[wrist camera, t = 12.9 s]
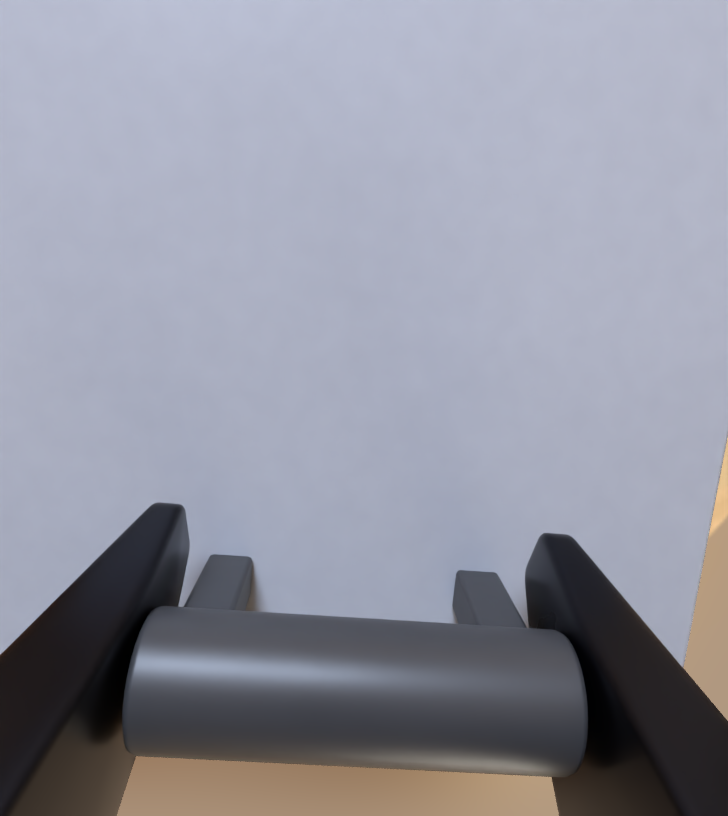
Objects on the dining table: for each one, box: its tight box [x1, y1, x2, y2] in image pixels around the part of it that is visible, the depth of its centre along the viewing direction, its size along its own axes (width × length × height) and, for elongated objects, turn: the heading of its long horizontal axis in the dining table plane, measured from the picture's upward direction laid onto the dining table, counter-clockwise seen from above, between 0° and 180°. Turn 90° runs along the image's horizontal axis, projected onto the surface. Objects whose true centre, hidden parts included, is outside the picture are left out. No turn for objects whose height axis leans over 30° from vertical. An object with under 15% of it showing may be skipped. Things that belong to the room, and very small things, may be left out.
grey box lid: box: [0, 0, 728, 777], centre depth 8 cm, size 12×12×4 cm
